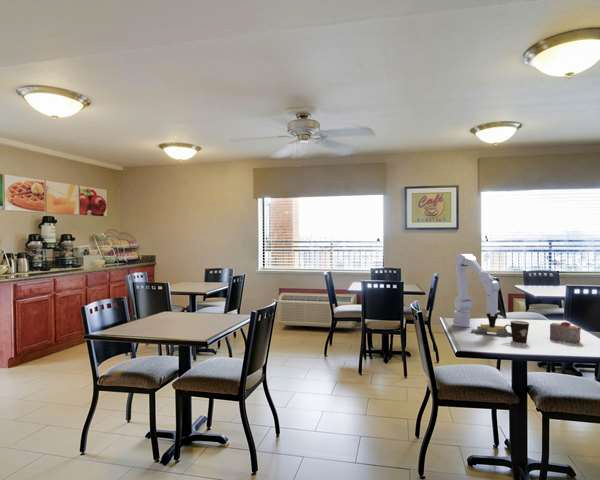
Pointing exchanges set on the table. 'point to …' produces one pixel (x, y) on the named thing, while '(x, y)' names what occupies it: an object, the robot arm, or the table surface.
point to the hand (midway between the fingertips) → (491, 326)
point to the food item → (565, 332)
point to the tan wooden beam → (492, 330)
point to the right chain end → (503, 333)
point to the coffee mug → (518, 331)
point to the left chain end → (479, 330)
